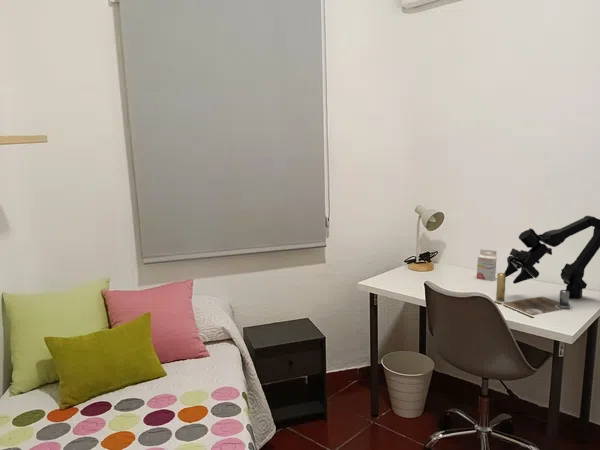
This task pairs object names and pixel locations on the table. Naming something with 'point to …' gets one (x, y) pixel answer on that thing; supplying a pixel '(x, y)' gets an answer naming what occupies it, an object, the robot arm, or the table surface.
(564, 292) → the fixed pin
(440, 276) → the table surface
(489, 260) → the ink cartridge box
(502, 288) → the brass pin
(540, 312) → the brown flat sheet
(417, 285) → the table surface
